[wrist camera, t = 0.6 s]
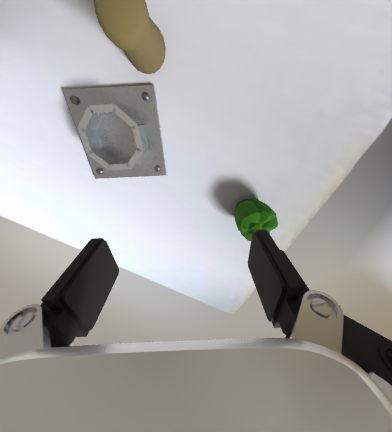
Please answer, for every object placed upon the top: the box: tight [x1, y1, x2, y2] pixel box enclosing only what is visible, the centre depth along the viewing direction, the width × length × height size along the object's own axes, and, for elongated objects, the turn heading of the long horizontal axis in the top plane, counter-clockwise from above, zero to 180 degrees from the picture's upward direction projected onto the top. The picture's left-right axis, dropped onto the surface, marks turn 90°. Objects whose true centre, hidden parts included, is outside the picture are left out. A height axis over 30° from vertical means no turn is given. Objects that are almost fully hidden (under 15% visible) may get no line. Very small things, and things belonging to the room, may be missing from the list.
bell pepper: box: [235, 199, 278, 241], centre depth 35 cm, size 8×8×10 cm
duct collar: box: [63, 85, 166, 179], centre depth 29 cm, size 15×15×5 cm
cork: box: [94, 0, 165, 74], centre depth 20 cm, size 6×6×11 cm
